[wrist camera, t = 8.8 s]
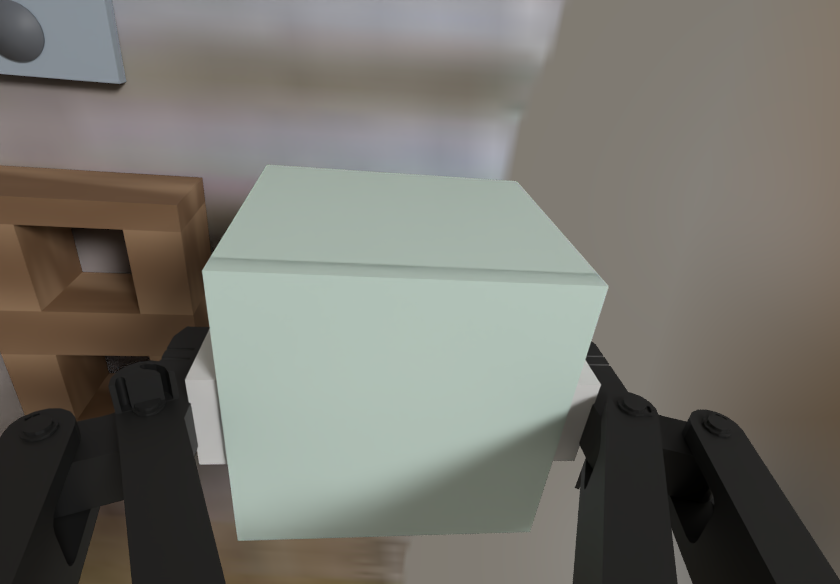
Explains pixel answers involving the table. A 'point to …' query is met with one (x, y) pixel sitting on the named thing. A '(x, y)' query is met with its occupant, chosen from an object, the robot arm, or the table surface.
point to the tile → (60, 40)
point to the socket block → (94, 279)
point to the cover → (393, 353)
